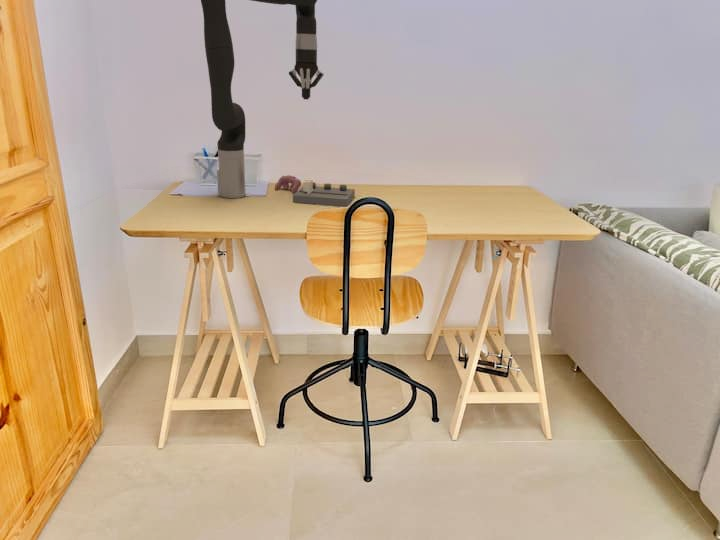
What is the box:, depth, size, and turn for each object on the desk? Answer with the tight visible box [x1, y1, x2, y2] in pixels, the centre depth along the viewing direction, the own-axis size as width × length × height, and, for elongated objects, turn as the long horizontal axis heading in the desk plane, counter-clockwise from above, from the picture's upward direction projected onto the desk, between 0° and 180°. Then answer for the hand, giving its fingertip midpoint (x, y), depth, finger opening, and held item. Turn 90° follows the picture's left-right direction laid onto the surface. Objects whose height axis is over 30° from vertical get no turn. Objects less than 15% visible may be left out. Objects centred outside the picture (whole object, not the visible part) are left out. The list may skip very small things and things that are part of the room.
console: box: [292, 182, 356, 207], centre depth 206 cm, size 20×16×5 cm
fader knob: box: [302, 179, 314, 192], centre depth 203 cm, size 2×4×4 cm, turn 171°
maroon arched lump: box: [274, 175, 302, 194], centre depth 216 cm, size 10×5×7 cm, turn 59°
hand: (306, 99), depth 201 cm, fingers closed
